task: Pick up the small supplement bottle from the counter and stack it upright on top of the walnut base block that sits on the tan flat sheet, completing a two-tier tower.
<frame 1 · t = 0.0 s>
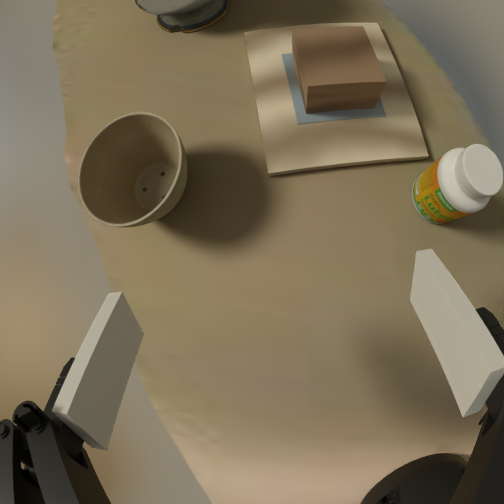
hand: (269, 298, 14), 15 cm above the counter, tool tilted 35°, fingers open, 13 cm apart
tan flat sheet: (331, 87, 29), on the counter
apothecary jar: (193, 10, 33), on the counter
supplement bottle: (433, 198, 28), on the counter
flower pot: (159, 187, 31), on the counter
walnut block: (332, 81, 28), point 1 cm above the counter, touching tan flat sheet
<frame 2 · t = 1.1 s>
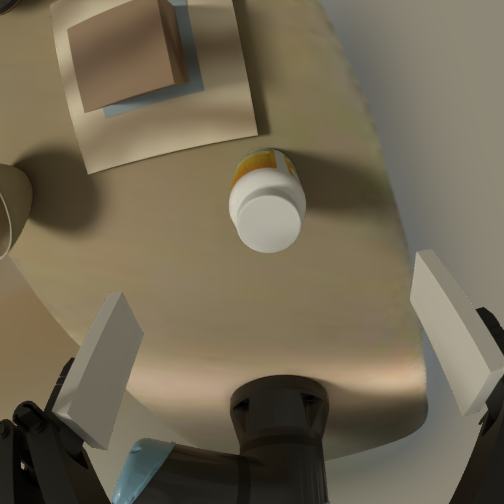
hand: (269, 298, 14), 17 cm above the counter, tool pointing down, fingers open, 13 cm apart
tan flat sheet: (145, 55, 22), on the counter
supplement bottle: (265, 175, 28), on the counter
flower pot: (18, 187, 28), on the counter
walnut block: (140, 54, 21), point 1 cm above the counter, touching tan flat sheet
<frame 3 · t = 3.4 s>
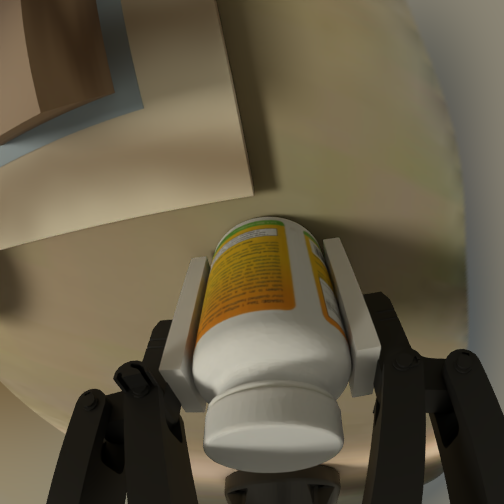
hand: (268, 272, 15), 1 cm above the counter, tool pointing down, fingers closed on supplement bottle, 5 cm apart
tan flat sheet: (47, 50, 10), on the counter
supplement bottle: (267, 260, 16), on the counter, touching gripper
walnut block: (33, 51, 9), point 1 cm above the counter, touching tan flat sheet
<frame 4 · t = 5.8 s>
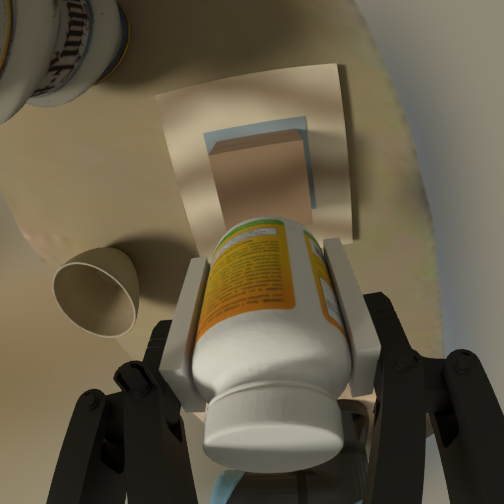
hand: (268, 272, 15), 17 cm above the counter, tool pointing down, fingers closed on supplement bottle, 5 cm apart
tan flat sheet: (262, 167, 29), on the counter
apothecary jar: (86, 41, 22), on the counter
supplement bottle: (267, 260, 16), point 16 cm above the counter, touching gripper
flower pot: (115, 264, 36), on the counter
walnut block: (262, 171, 29), point 1 cm above the counter, touching tan flat sheet
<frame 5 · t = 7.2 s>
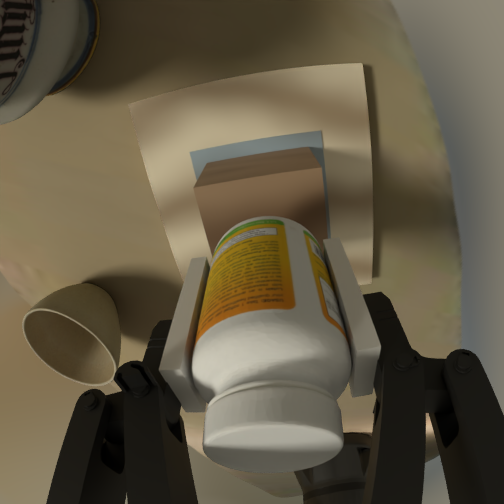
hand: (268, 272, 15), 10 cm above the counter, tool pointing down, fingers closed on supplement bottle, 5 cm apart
tan flat sheet: (265, 194, 24), on the counter
apothecary jar: (50, 39, 17), on the counter
supplement bottle: (267, 260, 16), point 9 cm above the counter, touching gripper
flower pot: (94, 300, 30), on the counter
walnut block: (265, 200, 23), point 1 cm above the counter, touching tan flat sheet
when the fingers open (8 cm above the counter, at t = 8.4 s): supplement bottle drops 1 cm, resting on walnut block.
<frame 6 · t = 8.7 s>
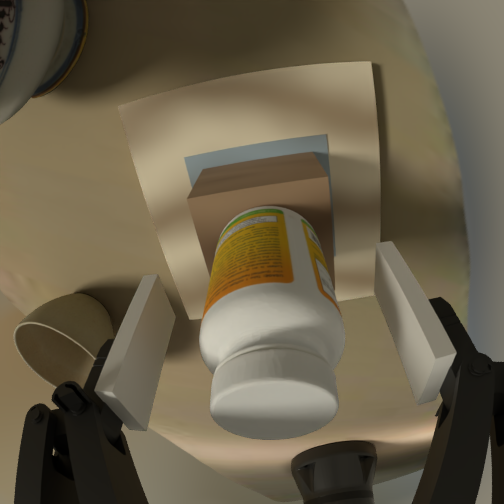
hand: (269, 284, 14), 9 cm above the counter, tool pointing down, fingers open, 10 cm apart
tan flat sheet: (265, 203, 22), on the counter
apothecary jar: (37, 38, 15), on the counter
supplement bottle: (268, 247, 17), point 6 cm above the counter, touching walnut block
flower pot: (88, 310, 29), on the counter
walnut block: (265, 209, 21), point 1 cm above the counter, touching tan flat sheet, supplement bottle
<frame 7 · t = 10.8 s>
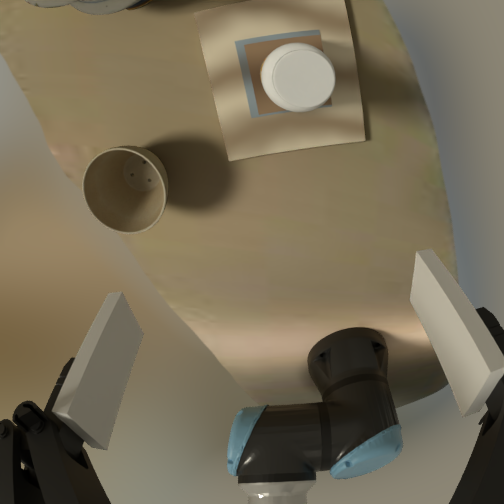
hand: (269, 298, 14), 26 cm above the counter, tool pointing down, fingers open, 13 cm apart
tan flat sheet: (284, 72, 31), on the counter
supplement bottle: (289, 74, 26), point 6 cm above the counter, touching walnut block
flower pot: (143, 170, 38), on the counter
walnut block: (284, 72, 30), point 1 cm above the counter, touching tan flat sheet, supplement bottle
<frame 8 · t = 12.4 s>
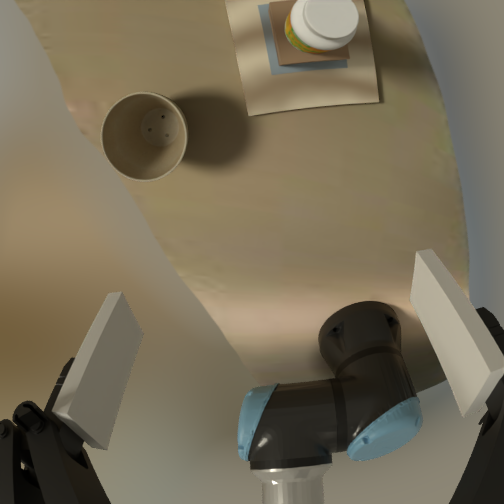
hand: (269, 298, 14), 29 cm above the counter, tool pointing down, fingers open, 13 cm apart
tan flat sheet: (302, 35, 30), on the counter
supplement bottle: (310, 30, 26), point 6 cm above the counter, touching walnut block
flower pot: (160, 126, 37), on the counter
walnut block: (304, 34, 30), point 1 cm above the counter, touching tan flat sheet, supplement bottle
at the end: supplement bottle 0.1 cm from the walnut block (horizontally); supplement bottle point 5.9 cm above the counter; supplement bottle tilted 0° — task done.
